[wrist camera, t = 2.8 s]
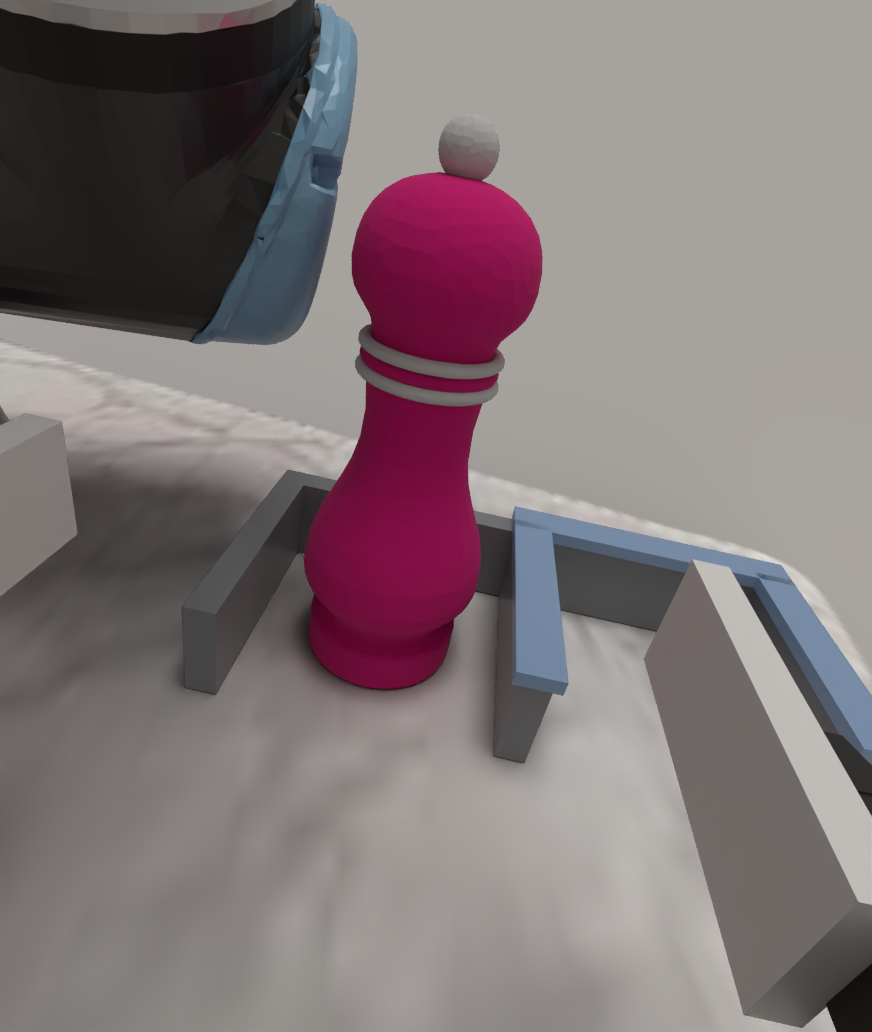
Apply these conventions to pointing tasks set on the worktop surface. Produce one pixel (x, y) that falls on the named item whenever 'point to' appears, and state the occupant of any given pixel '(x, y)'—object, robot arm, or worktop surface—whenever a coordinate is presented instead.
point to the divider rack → (529, 606)
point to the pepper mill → (419, 412)
